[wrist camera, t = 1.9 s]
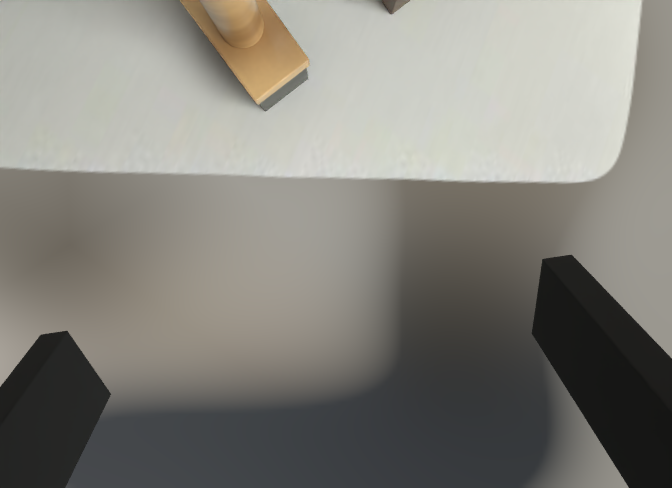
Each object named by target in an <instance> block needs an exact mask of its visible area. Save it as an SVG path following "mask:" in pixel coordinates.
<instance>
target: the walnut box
mask: <svg viewBox="0 0 672 488" xmlns="http://www.w3.org/2000/svg"><path fill="white" fill-rule="evenodd" d="M409 1H410V0H382V2H383V3H384V5H385V6H386V7H387V9H388V10H389V12H390V13H391V14H393V13H394V12H396V11H397V10H398V9H399V8H401V7H402V6H403V5H405V4H406V3H407V2H409Z"/></svg>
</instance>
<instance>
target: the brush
mask: <svg viewBox="0 0 672 488" xmlns="http://www.w3.org/2000/svg"><path fill="white" fill-rule="evenodd" d="M180 2H181V3H182V4H183V6H184V7H185V8H186V10H187V11H188V12H189V14H190V15H191V16H192V18H193V19H194V20H195V22H196V23H197V24H198V26H199V27H200V29H201V30H202V31H203V33H204V34H205V35H206V37H207V38H208V39H209V41H210V42H211V43H212V45H213V46H214V47H215V49H216V50H217V51H218V53H219V54H220V56H221V57H222V58H223V60H224V61H225V62H226V64H227V65H228V66H229V68H230V69H231V70H232V72H233V73H234V74H235V76H236V77H237V78H238V80H239V81H240V82H241V84H242V85H243V87H244V88H245V89H246V91H247V92H248V93H249V95H250V96H251V97H252V99H253V100H254V101H255V103H256V104H257V105H259V104H260V105H261V106H262V108H263V109H264V110H265V111H267V110H268V109H269V108H271V107H272V106H273V105H275V104H276V103H277V102H278V101H280V100H281V99H282V98H284V97H285V96H286V95H288V94H289V93H290V92H291V91H293V90H294V89H295V88H297V87H298V86H299V85H301V84H302V83H303V82H304V81H306V80H307V79H308V74H307V67H308V66H309V65H310V63H309V59H308V57H307V56H306V55H305V53H304V52H303V50H302V49H301V48H300V46H299V45H298V43H297V42H296V41H295V39H294V38H293V36H292V35H291V34H290V32H289V31H288V30H287V28H286V27H285V25H284V24H283V23H282V21H281V20H280V18H279V17H278V16H277V14H276V13H275V12H274V10H273V9H272V7H271V6H270V5H269V3H268V2H267V0H180Z"/></svg>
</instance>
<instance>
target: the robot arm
mask: <svg viewBox="0 0 672 488" xmlns="http://www.w3.org/2000/svg"><path fill="white" fill-rule="evenodd" d="M532 335H533V336H534V338H535V339H536V341H537V342H538V344H539V346H540V347H541V349H542V350H543V352H544V353H545V355H546V357H547V358H548V360H549V361H550V363H551V365H552V366H553V368H554V369H555V371H556V373H557V374H558V376H559V377H560V379H561V381H562V382H563V384H564V385H565V387H566V388H567V390H568V392H569V393H570V395H571V396H572V398H573V400H574V401H575V402H576V404H577V406H578V407H579V409H580V410H581V412H582V414H583V415H584V417H585V419H586V420H587V422H588V423H589V425H590V426H591V428H592V430H593V431H594V433H595V434H596V436H597V438H598V439H599V441H600V442H601V444H602V445H603V447H604V449H605V450H606V452H607V453H608V455H609V457H610V458H611V460H612V461H613V463H614V465H615V466H616V468H617V469H618V471H619V472H620V474H621V476H622V477H623V479H624V480H625V482H626V483H627V485H628V487H629V488H672V358H670V356H669V355H668V354H667V353H666V352H665V351H664V350H663V349H662V348H661V347H660V346H659V345H658V344H657V343H656V342H655V341H654V340H653V339H652V338H651V337H650V336H649V335H648V334H647V332H646V331H645V330H644V329H643V328H642V327H641V326H640V325H639V324H638V323H637V322H636V321H635V320H634V319H633V318H632V317H631V316H630V315H629V314H628V313H627V312H626V311H625V310H624V309H623V307H621V305H620V304H619V303H618V302H617V301H616V300H615V299H614V298H613V297H612V296H611V295H610V294H609V293H608V292H607V291H606V290H605V289H604V288H603V287H602V286H601V285H600V284H599V283H598V282H597V281H596V279H595V278H594V277H593V276H592V275H591V274H590V273H589V272H588V271H587V270H586V269H585V268H584V267H583V266H582V265H581V264H580V263H579V262H578V261H577V260H576V259H575V258H574V257H573V256H572V255H566V256H560V257H553V258H546V259H543V260H542V266H541V274H540V280H539V288H538V294H537V301H536V308H535V315H534V322H533V329H532ZM110 395H111V394H110V392H109V390H108V389H107V388H106V386H105V385H104V383H103V382H102V380H101V379H100V378H99V376H98V375H97V373H96V372H95V371H94V369H93V367H92V366H91V364H90V363H89V362H88V360H87V359H86V357H85V356H84V354H83V353H82V351H81V350H80V349H79V347H78V346H77V344H76V343H75V341H74V340H73V338H72V337H71V336H70V334H69V333H68V331H63V332H56V333H49V334H43V335H40V336H39V338H38V339H37V340H36V342H35V343H34V344H33V346H32V347H31V348H30V349H29V351H28V352H27V353H26V355H25V356H24V357H23V358H22V360H21V361H20V362H19V364H18V365H17V366H16V367H15V369H14V370H13V371H12V373H11V374H10V375H9V377H8V378H7V379H6V381H5V382H4V383H3V384H2V385H1V387H0V488H65V487H66V485H67V483H68V480H69V478H70V477H71V475H72V472H73V470H74V468H75V466H76V464H77V462H78V460H79V458H80V456H81V454H82V452H83V450H84V448H85V446H86V444H87V442H88V440H89V438H90V436H91V434H92V432H93V430H94V427H95V425H96V424H97V422H98V420H99V418H100V415H101V413H102V411H103V409H104V407H105V405H106V403H107V401H108V399H109V397H110Z"/></svg>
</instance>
